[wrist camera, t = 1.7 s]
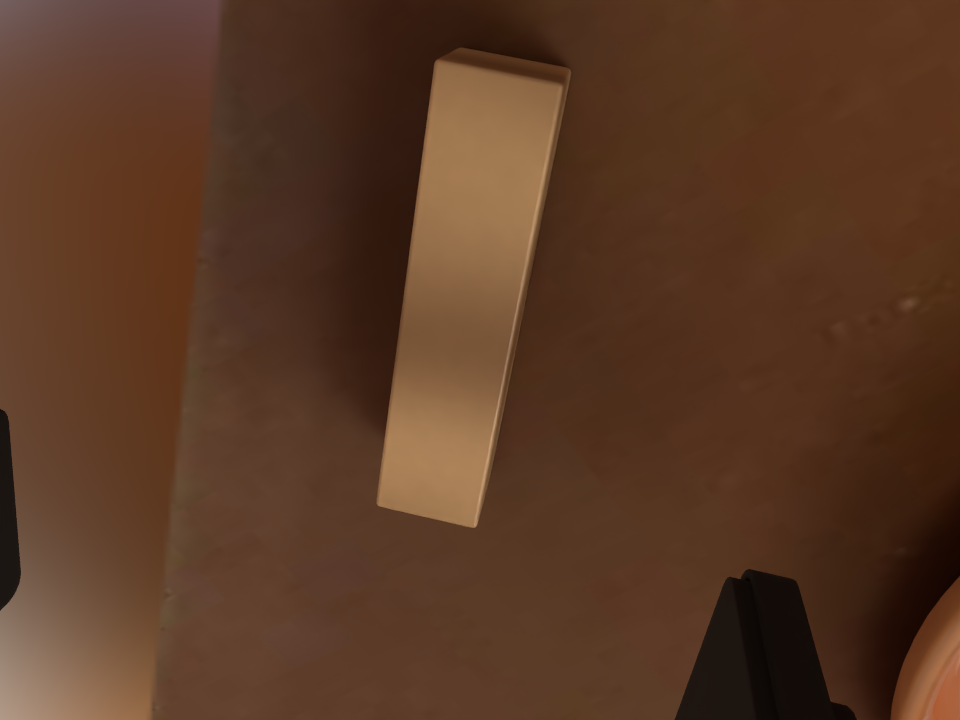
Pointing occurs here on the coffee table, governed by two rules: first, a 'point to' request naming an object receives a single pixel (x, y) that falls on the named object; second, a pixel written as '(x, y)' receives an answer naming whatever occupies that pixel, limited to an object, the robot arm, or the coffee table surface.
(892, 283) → the coffee table surface
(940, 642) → the saucer
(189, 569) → the coffee table surface
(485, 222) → the rectangular block
